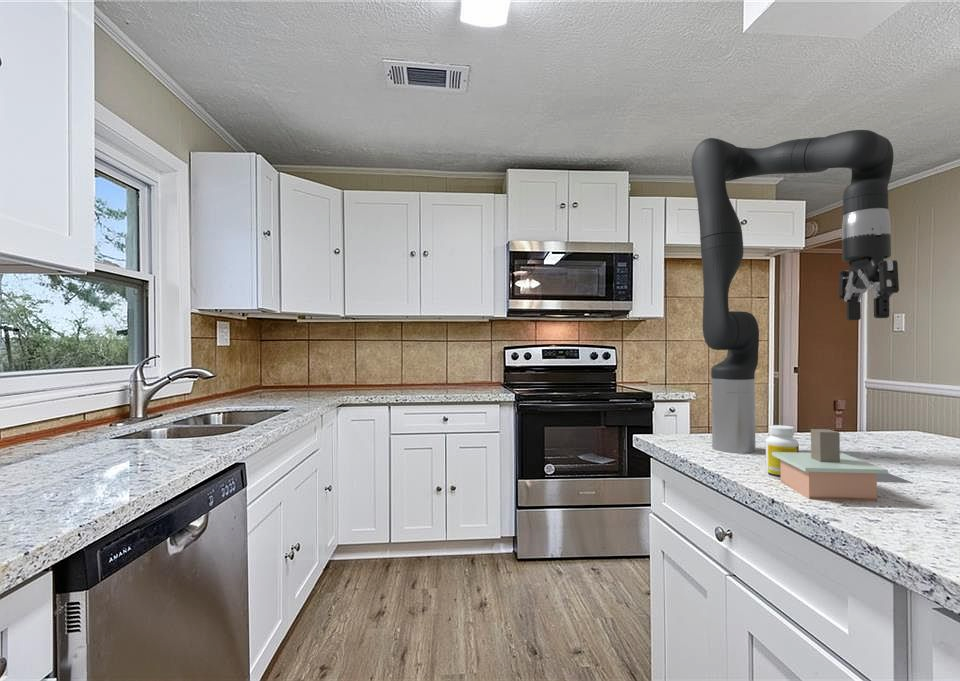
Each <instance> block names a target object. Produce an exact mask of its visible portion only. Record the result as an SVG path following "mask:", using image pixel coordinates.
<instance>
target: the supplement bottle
mask: <svg viewBox="0 0 960 681" xmlns="http://www.w3.org/2000/svg"><path fill="white" fill-rule="evenodd" d="M769 434H770V436H768V437H767V438H766V439H765V476H767V477H768V478H772V479H775V480H780V481H781V468H780V459H779V458H777V457H775V456H772V452H799V453H800V451H799V450H800V449H799V448H800V447H799V446H800V445H799V444H800V443H799V441H798V439H796V438H794V437H793V436H794V435H795V427H794V426H790V425H779V424H773V425H770V426H769Z"/></svg>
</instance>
